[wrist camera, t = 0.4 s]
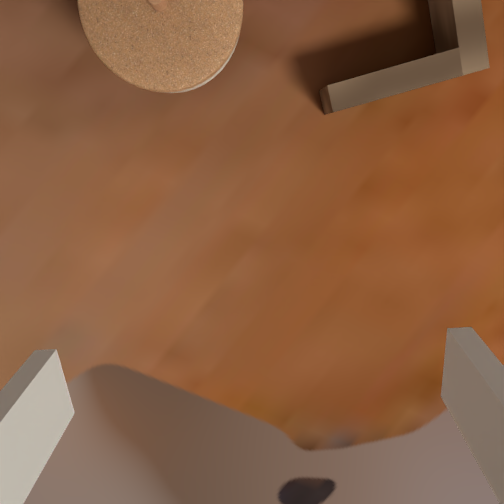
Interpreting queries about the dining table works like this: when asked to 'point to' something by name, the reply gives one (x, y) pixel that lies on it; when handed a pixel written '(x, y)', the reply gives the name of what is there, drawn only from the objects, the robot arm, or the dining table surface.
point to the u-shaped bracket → (422, 59)
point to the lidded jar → (163, 39)
